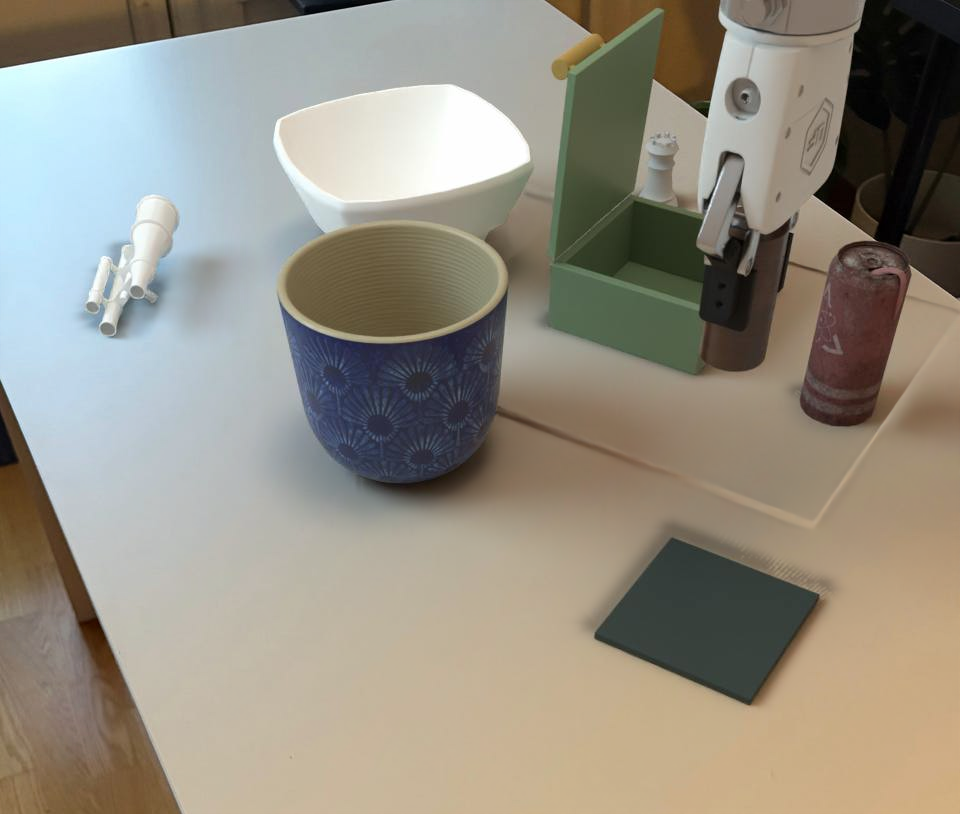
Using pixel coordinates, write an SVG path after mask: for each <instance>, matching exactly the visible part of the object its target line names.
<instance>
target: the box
mask: <svg viewBox="0 0 960 814" xmlns="http://www.w3.org/2000/svg"><path fill="white" fill-rule="evenodd" d="M704 218H705V217H704V216H702V214H701V213H700V212H696V211H693V210H688V209H685V208H681V207H679V206H678V207H674V206H671V205H667V204H664V203H660V202H657V201H653V200H650V199H646V198H642V197H639V195H636V194H635V195H634V194H632V193H631V194H630V195H628V196H627V197H626V198H625V199H624V200H623V201H622V202H620V203H619V204H618V205H617V206H616V207H615V208H614V209H612V210H611V211H610V212H609V213H608V214H607V215H606V216H604V217H603V218H602V219H601V220H600V221H599V222H598V223H596V224H595V225H594V226H593V227H592V228H591V229H590V230H588V231H587V232H586V233H585V234H584V235H583V236H582V237H580V238H579V239H578V240H577V241H576V242H575V243H574V244H573V245H571V246H570V247H569V248H568V249H567V250H566V251H565V252H563V253H562V254H561V255H560V256H559V257H558V258H557V259H555V260H553V262H552V263H550V270H549V271H550V273H549V302H548V328H551V329H555V330H557V331H560V332H562V333H566V334H569V335H571V336H575V337H578V338H581V339H584V340H587V341H590V342H593V343H596V344H599V345H602V346H605V347H608V348H611V349H614V350H618V351H620V352H623V353H626V354H629V355H633V356H635V357H638V358H641V359H644V360H647V361H650V362H653V363H656V364H659V365H662V366H666V367H667V368H672V369H674V370H677V371H680V372H683V373H687V374H689V375H692V376H697V375H698V374H699V373H700V372H701V371H702V370H703V369H704V368H705V366H706V365H708V364H707V363H705V362H704V361H703V360H702V358H701V357H700V355H699V344H700V337H701V330H702V323H703V320H702V319H701V318H700V316H699V309H700V302H701V295H702V287H703V280H704V273H705V266H706V264H704V256H705V253H704V252H703V251H702V250H700V249H699V248H698V247H697V246H696V241H697V237H698V234H699V232H700V229H701V226H702V223H703V220H704Z"/></svg>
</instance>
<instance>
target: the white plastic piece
mask: <svg viewBox="0 0 960 814" xmlns="http://www.w3.org/2000/svg"><path fill="white" fill-rule="evenodd" d="M180 218H181V217H180V213H179V210H178V209H177V207H176V204H174V203H173V202H172V201H171V200H170V199H169V198H167V197H165V196H163V195H159V194H148V195H146V196H143V197H142V198H141V199H140V200H139V201H138V203H137V205H136V207H135V222H134V223H133V224H132V226H131V228H130V231H129V240H130V244H124V245H123V246H122V248H121V251H120V254H121V256H120V259H119V262H118V266H117V265H115V264H114V261H113V259H112V258H111V257H109V256H106V255H104V256H101V257H100V258H99V260H98V267H97V270H96V274H95V277H94V280H93V283H92V286H91V289H90V290H89V292H88V299H87V301H86V302H85V305H84V307H85V310H86V312H88V313H89V314H93V315H96V314H98V313H99V312H100V310H101V305H102V306H104V307H103V309H104V313H103V316H102V320H101V322H100V323H99V326H98V330H99V332H100V333H101V334H102V335H103V336H105V337H107V338H111V337H114V336H115V335H116V334H117V326H118V323H119V320H120V316H122V315H123V313H124V306H125V305H126V303H127V302H128V301H129V299H130V298H131V299H136V300H142V299H143V298H145V299H146V300H147V301H149V302H150V303H151V304H154V303H155V302H156V301H157V298H158V295H157V294H156V293H154V292H153V291H152V290H151V289H149V288H148V285H150V283H152V282H154V280H155V279H156V277H157V268H158V264H159V261H160V260H161V259H163V258H165V257H167V256H168V255H169V254H170V253H171V251H172V249H173V246H174V237H173V236H174V233H176V231H177V229H178V228H179V225H180V220H181V219H180ZM110 273H113V278H114V279H113V283H112V286H111V290H110V293H109V297H108V299H107V298H106V297H104V292H105V290H106V286H107V282H108V279H109V277H110Z"/></svg>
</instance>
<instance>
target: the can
mask: <svg viewBox="0 0 960 814" xmlns="http://www.w3.org/2000/svg"><path fill="white" fill-rule="evenodd" d="M910 265H911V261H910V257H909V256H908V255H907V253H906V252H905V251H904V250H902V249H901V248H899V247H898V246H896V245H892V244H889V243H887V242H883V241H878V240H858V241H852V242H850V243H847V244H844V245H843V246H841V248H839V249H838V251H837V253H836V255H834V257H833V258H832V259H831V261H830V264H829V267H828V271H827V275H826V281H825V285H824V289H823V293H822V298H821V302H820V307H819V311H818V316H817V321H816V325H815V331H814V334H813V338H812V343H811V346H810V347H811V348H810V353H809V356H808V360H807V365H806V370H805V374H804V379H803V384H802V388H801V391H800V392H801V393H800V397H799V403H800V404H799V405H800V406H799V407H800V408H801V409H802V411H803V412H804V414H806V415H807V416H808V417H809V418H811V419H812V420H815V421H816V422H818V423H819V424H820V423H821V424H823V425H828V426H831V427H845V428H846V427H853V426H858V425H860V424H863V423H866V422H867V421H868V420H869V419H870V418H871V417H872V416H873V413H874V411H875V407H876V404H877V400H878V396H879V393H880V390H881V386H882V383H883V378H884V375H885V371H886V369H887V365H888V361H889V357H890V353H891V350H892V348H893V347H892V346H893V343H894V339H895V336H896V333H897V328H898V325H899V321H900V319H901V314H902V311H903V308H904V304H905V300H906V297H907V294H908V290H909V287H910V282H911V279H912V275H913V274H912V270H911V266H910Z"/></svg>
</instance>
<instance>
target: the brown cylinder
mask: <svg viewBox="0 0 960 814" xmlns="http://www.w3.org/2000/svg"><path fill="white" fill-rule="evenodd" d="M736 212H739V213H743V214H745V212H744V207H743V206H737V208H736ZM790 231H791V230H790V224H789V221H788V220H787V221H786V222H785V223H784V224H783V225H782V226H780V227H779V228H778V229H777V230H775V231H773V232H771V233H769V234H761V235H760V239H759V243H758V247H757V251H756V255H755V259H754V263H753V266H752V269H755V270H758V273H757V279H756V284H755V290H754V296H753V301H752V307H751V313H750V318H749V324H748V326H747V327H746V329H745V330H744V331H742V332H738V331H735V330H732V329H728V328H725V327H722V326H719V325H716V324H713V323H710V322H707V321H704V320H703V323H702V330H701V337H700V344H699V355H700V357H701V358H702V360H703V361H704V362H705V363H707V364H706V365H708V366H710V367H712V368H714V369H717V370H719V371H724V372H730V373H731V372H733V373H741V372H747V371H751V370H753V369H755V368H758V367H760V366H761V365H762V363H763V362H764V361H765V359H766V354H767V349H768V344H769V339H770V334H771V329H772V323H773V319H774V312H775V309H776V308H775V307H776V302H777V297H778V294H777V292H778V287H779V282H780V277H781V271H782V266H783V261H784V256H785V251H786V245H787V240H788V235H789V232H790ZM745 235H746V231H744V230H741V229H738V228H734V227H731V226H730V228H729V236H731V237H730V238H732V239H735V240H737V241H738V242H739V244H740V246H741V248H742V247H743V243H744V239H745Z"/></svg>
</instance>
